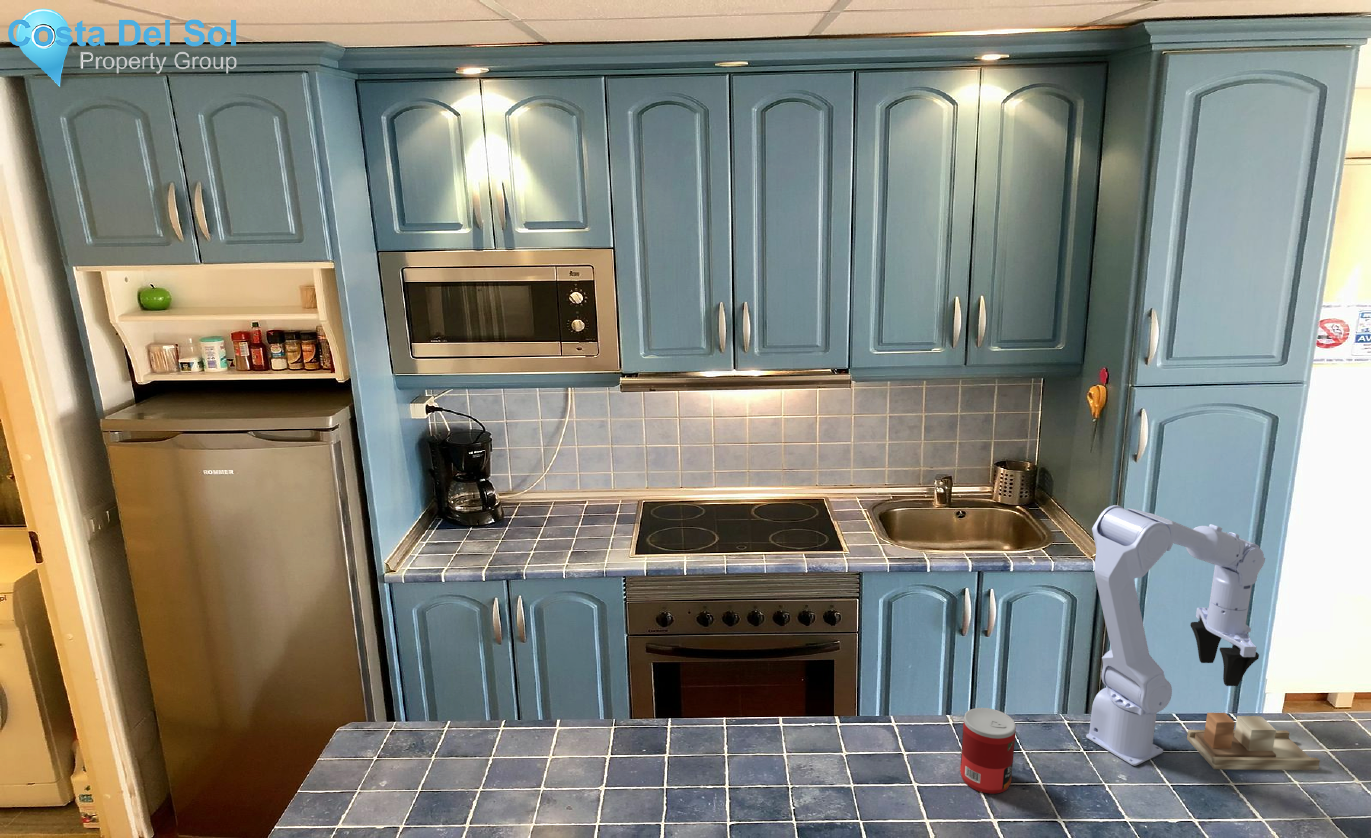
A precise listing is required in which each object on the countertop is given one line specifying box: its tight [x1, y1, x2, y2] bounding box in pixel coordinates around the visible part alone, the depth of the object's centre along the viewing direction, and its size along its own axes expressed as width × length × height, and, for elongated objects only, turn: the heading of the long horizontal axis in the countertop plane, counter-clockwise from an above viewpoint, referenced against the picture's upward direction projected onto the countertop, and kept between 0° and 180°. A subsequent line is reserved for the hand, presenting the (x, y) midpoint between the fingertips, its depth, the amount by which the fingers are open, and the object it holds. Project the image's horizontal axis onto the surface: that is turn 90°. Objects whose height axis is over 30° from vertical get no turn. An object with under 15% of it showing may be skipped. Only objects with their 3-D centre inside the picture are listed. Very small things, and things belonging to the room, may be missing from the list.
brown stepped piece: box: [1195, 712, 1276, 757], centre depth 144 cm, size 10×6×6 cm, turn 88°
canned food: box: [959, 707, 1017, 795], centre depth 138 cm, size 8×8×11 cm
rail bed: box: [1186, 729, 1321, 771], centre depth 145 cm, size 17×8×2 cm, turn 88°
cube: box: [1234, 715, 1277, 751], centre depth 144 cm, size 4×4×4 cm
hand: (1218, 673), depth 151 cm, fingers open, 7 cm apart
